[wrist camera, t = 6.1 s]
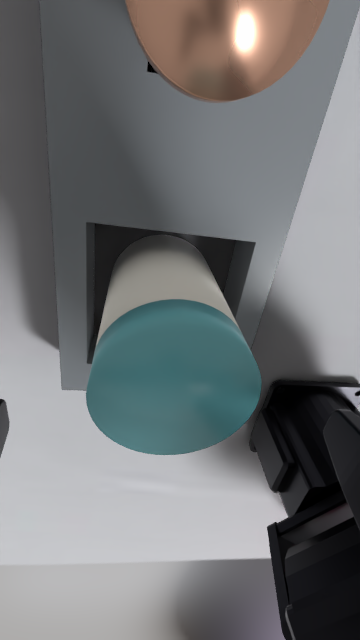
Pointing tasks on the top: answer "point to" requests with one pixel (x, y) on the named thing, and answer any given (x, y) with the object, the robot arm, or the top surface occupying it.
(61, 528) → the top surface
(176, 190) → the housing
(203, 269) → the cylinder
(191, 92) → the plunger
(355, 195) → the top surface
